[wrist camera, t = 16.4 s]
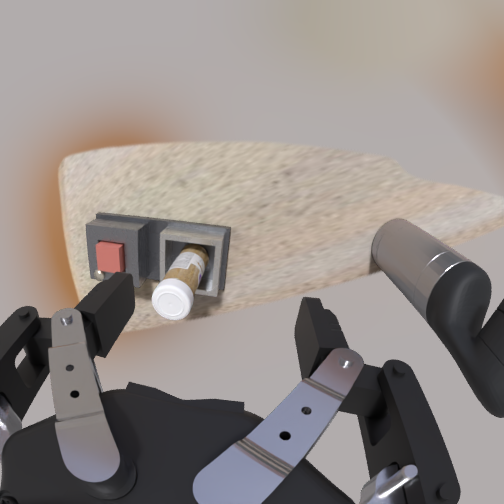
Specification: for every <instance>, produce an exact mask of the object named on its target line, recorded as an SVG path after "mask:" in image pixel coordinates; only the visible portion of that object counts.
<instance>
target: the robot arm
mask: <svg viewBox="0 0 504 504" xmlns="http://www.w3.org/2000/svg"><path fill="white" fill-rule="evenodd" d="M372 255H373V259H374V261H375V263H376V264H377V265H378V266H379V267H380V268H381V270H382V271H383V272H384V273H385V274H386V275H387V276H388V277H389V279H390V280H391V281H392V282H393V283H394V284H395V285H396V286H397V287H398V289H399V290H400V291H401V292H402V293H403V294H404V295H405V297H406V298H407V299H408V300H409V301H410V303H412V305H413V306H414V307H415V309H416V310H417V311H418V312H419V313H420V314H421V316H422V317H423V318H424V319H425V320H426V322H427V323H428V324H429V325H430V327H431V328H432V329H433V330H434V332H435V333H436V334H437V336H438V337H439V338H440V340H441V341H442V343H443V344H444V345H445V347H446V348H447V349H448V351H449V352H450V354H451V355H452V357H453V358H454V360H455V361H456V363H457V365H458V366H459V368H460V370H461V372H462V373H463V375H464V377H465V378H466V380H467V382H468V384H469V385H470V387H471V389H472V390H473V392H474V394H475V395H476V397H477V398H478V400H479V401H480V402H481V404H482V405H483V406H484V408H485V409H486V410H487V411H488V412H489V413H491V414H492V415H494V416H496V417H499V418H503V417H504V299H503V300H502V302H501V303H500V305H499V306H498V308H497V310H495V312H494V313H493V315H492V316H491V318H490V319H489V320H488V322H487V323H486V324H485V326H484V327H483V328H482V324H483V321H484V318H485V315H486V312H487V309H488V307H489V303H490V299H491V282H490V279H489V277H488V275H487V273H486V272H485V271H484V270H482V269H481V268H480V267H479V266H477V265H476V264H475V263H473V262H472V261H470V260H469V259H467V258H466V257H464V256H463V255H461V254H460V253H458V252H457V251H455V250H454V249H452V248H451V247H449V246H448V245H446V244H445V243H443V242H442V241H440V240H438V239H437V238H435V237H434V236H432V235H430V234H429V233H427V232H425V231H424V230H422V229H421V228H419V227H417V226H416V225H414V224H412V223H410V222H408V221H407V220H404V219H394V220H391V221H389V222H387V223H386V224H384V225H383V226H382V227H381V228H380V229H379V231H378V232H377V234H376V236H375V238H374V241H373V245H372ZM134 309H135V296H134V285H133V276H132V274H130V273H124V272H118V271H117V272H115V273H114V274H113V275H112V276H111V277H110V278H109V279H108V280H104V281H102V282H100V283H98V284H97V285H96V286H95V287H94V288H93V289H92V291H90V292H89V293H88V295H86V296H85V297H84V298H83V299H82V300H81V301H80V303H79V304H78V305H77V306H76V307H75V308H74V309H72V308H65V309H62V310H59V311H57V312H56V313H55V314H54V315H53V317H52V318H39V315H38V312H37V310H36V308H34V307H31V306H25V307H21V308H19V309H17V310H16V311H15V312H14V313H13V314H12V315H11V316H10V317H9V318H8V319H7V320H6V321H5V322H4V323H3V324H2V325H1V326H0V463H1V464H2V480H1V488H0V504H355V503H354V502H353V500H352V499H351V498H349V497H348V496H347V495H346V494H345V493H344V492H342V491H341V490H340V489H339V488H338V487H336V486H335V485H334V484H333V483H331V481H329V480H328V479H327V478H326V477H325V476H324V475H323V474H322V473H321V472H319V471H318V470H317V469H316V468H315V467H314V466H313V465H312V464H311V463H309V461H308V460H306V456H307V455H308V454H309V452H310V451H311V450H312V449H313V447H314V446H315V444H316V443H317V441H318V440H319V439H320V437H321V436H322V434H323V433H324V432H325V430H326V429H327V427H328V426H329V424H330V423H331V422H332V420H333V419H334V417H335V416H336V414H337V412H338V411H342V412H347V413H351V414H356V415H357V416H358V420H359V425H360V430H361V435H362V439H363V444H364V449H365V454H366V459H367V464H368V470H369V475H370V480H369V481H368V482H367V483H366V484H365V485H364V486H363V488H362V490H361V499H360V502H359V504H457V503H458V501H459V499H460V486H459V483H458V480H457V477H456V473H455V470H454V467H453V464H452V461H451V459H450V456H449V453H448V450H447V448H446V445H445V443H444V440H443V437H442V435H441V433H440V430H439V427H438V425H437V423H436V420H435V418H434V415H433V413H432V411H431V409H430V406H429V404H428V402H427V400H426V398H425V395H424V393H423V391H422V389H421V387H420V384H419V382H418V380H417V379H416V376H415V374H414V372H413V370H412V369H411V367H410V366H409V365H408V364H406V363H404V362H402V361H399V360H388V361H387V362H385V364H384V365H383V367H382V368H379V367H375V366H370V365H366V364H364V361H363V359H362V357H361V356H360V355H359V354H358V353H357V352H355V351H353V350H351V349H349V347H348V344H347V342H346V339H345V337H344V334H343V332H342V331H341V327H340V325H339V322H338V320H337V318H336V316H335V315H334V314H333V313H332V312H331V311H330V310H328V309H324V308H323V306H322V303H321V300H320V299H319V298H311V297H303V299H302V301H301V305H300V309H299V313H298V318H297V321H296V325H295V341H296V347H297V353H298V359H299V364H300V370H301V376H302V381H301V382H300V383H299V384H298V385H297V387H295V389H294V390H293V391H292V392H291V393H290V394H289V395H288V396H287V397H286V398H285V399H284V400H283V401H282V402H281V403H280V404H279V405H278V406H277V408H276V409H274V410H273V411H272V412H271V413H270V414H269V416H267V417H266V419H263V418H261V417H259V416H257V415H255V414H253V413H251V412H248V411H245V410H244V402H238V401H228V400H219V399H202V400H182V399H179V398H177V397H174V396H172V395H170V394H167V393H165V392H163V391H161V390H158V389H156V388H152V387H148V386H144V385H140V384H136V383H132V382H129V383H128V385H127V387H126V389H116V390H110V391H106V392H103V389H102V386H101V383H100V380H99V376H98V373H97V369H96V366H95V362H94V358H95V356H96V355H97V356H100V357H104V358H106V356H107V354H108V353H109V351H110V349H111V348H112V346H113V344H114V343H115V341H116V340H117V338H118V336H119V335H120V333H121V332H122V330H123V329H124V327H125V325H126V324H127V322H128V321H129V319H130V318H131V316H132V315H133V312H134ZM22 348H24V350H25V353H26V356H25V358H24V359H23V360H22V362H21V363H20V365H19V366H18V367H17V369H16V367H15V358H16V356H17V355H18V353H19V352H20V351H21V350H22ZM49 373H50V378H51V386H52V394H53V401H54V407H55V413H56V414H55V415H53V416H51V417H49V418H46V419H44V420H42V421H40V422H37V423H35V424H33V425H31V426H28V427H26V428H23V429H22V423H21V422H22V419H23V418H24V416H25V414H26V412H27V410H28V409H29V406H30V405H31V403H32V401H33V400H34V398H35V396H36V394H37V392H38V391H39V389H40V387H41V386H42V384H43V382H44V381H45V379H46V377H47V376H48V374H49Z"/></svg>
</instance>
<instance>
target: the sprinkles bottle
mask: <svg viewBox="0 0 504 504" xmlns="http://www.w3.org/2000/svg"><path fill="white" fill-rule="evenodd" d="M208 261H209V257H208V253H207V252H206V250H205V249H204V248H203V247H202V246H200V245H197V244H189V245H186V246H185V247H184V248H183V249H182V250H181V252H180V255H179V256H178V257H177V258H176V260H175V261H174V262H173V264H172V265H171V267H170V269H169V270H168V272H167V273H166V275H165V277H164V279H163V280H162V281H161V282H160V283H159V284H158V286H157V287H156V289H155V290H154V292H153V294H152V304H153V307H154V309H155V310H156V311H157V313H158V314H159V315H161V316H162V317H164V318H166V319H169V320H180V319H183V318H185V317H186V316H187V315H188V314H189V312H190V310H191V307H192V305H193V301H194V295H195V292H196V289H197V288H198V285H199V283H200V280H201V278H202V276H203V273H204V270H205V268H206V266H207V264H208Z"/></svg>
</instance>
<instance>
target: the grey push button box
mask: <svg viewBox="0 0 504 504" xmlns="http://www.w3.org/2000/svg"><path fill="white" fill-rule="evenodd" d="M230 228H231V227H226V226H218V225H210V224H202V223H193V222H185V221H176V220H167V219H158V218H149V217H140V216H130V215H120V214H110V213H100V212H99V213H97V214H96V219H94V220H93V221H91V222H89V223H87V224H86V236H87V248H88V258H89V267H90V275H91V278H92V279H96V280H98V281H104V280H108V279H109V278H110V277H111V276H112V275H113V274H114V273H111V272H106V271H100V270H98V265H97V255H96V244H98V243H99V242H101V241H109V242H116V243H124V250H125V268H126V269H125V270H124V271H123V272H124V273H130V274H132V276H133V285H134V287H138V288H140V287H141V285H142V284H143V282H144V281H145V280H146V278H148V279H154V280H160V282H161V281H162V280H163V279H164V277H165V275H166V273H167V272H168V270H169V269H170V267H171V265H172V264H173V262H174V261H175V260H176V258H177V257H178V256H179V255H180V252H181V250H182V249H183V248H184V247H185V246H186V245H189V244H197V245H200V246H202V247H203V248H204V249H205V250H206V252H207V253H208V257H209V261H208V264H207V266H206V268H205V270H204V273H203V276H202V278H201V280H200V283H199V285H198V288H197V289H196V292H195V294H200V295H207V296H214V297H217V294H218V289H221V290H224V283H225V274H226V264H227V255H228V246H229V237H230Z"/></svg>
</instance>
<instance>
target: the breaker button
mask: <svg viewBox="0 0 504 504" xmlns="http://www.w3.org/2000/svg"><path fill="white" fill-rule="evenodd" d="M96 255H97V265H98V270H100V271H106V272H111V273H115V272H117V271H118V272H123V271H124V270H125V269H126V268H125V250H124V243H116V242H109V241H101V242H99V243H98V244H96Z"/></svg>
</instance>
